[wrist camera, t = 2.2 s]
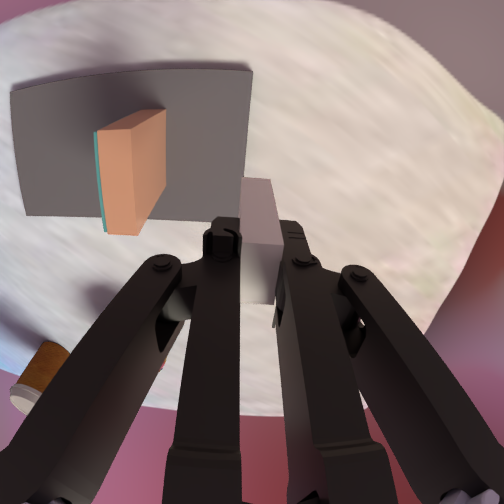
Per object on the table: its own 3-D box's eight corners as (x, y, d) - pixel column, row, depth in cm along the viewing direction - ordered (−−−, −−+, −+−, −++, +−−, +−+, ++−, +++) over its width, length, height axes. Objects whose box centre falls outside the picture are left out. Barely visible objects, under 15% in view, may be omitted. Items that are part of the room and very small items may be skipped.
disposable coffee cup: (91, 373, 45) (72, 432, 35) (50, 368, 45) (29, 421, 35) (66, 335, 39) (38, 399, 29) (24, 332, 40) (-4, 388, 30)
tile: (140, 184, 27) (103, 234, 19) (138, 109, 23) (92, 130, 15) (166, 185, 27) (137, 235, 19) (166, 109, 23) (130, 128, 16)
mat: (31, 211, 28) (26, 215, 28) (15, 90, 21) (10, 92, 20) (239, 219, 30) (239, 223, 29) (252, 71, 23) (253, 71, 22)
